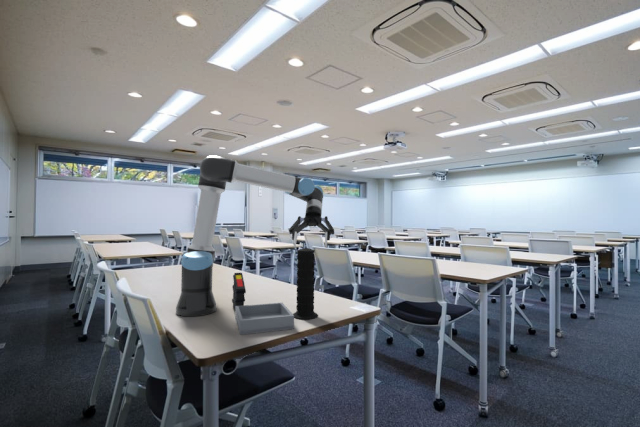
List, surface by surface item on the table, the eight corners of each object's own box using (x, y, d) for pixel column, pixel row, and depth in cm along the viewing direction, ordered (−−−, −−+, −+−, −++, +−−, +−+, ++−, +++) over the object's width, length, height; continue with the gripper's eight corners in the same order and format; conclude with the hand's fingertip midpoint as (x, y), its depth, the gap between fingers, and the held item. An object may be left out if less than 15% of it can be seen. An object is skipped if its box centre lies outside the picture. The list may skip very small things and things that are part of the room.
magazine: (240, 300, 139) (242, 272, 133) (243, 322, 128) (246, 291, 122) (231, 301, 137) (233, 272, 132) (234, 323, 126) (236, 292, 120)
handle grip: (316, 320, 118) (319, 312, 128) (317, 249, 119) (320, 246, 129) (290, 319, 119) (294, 311, 129) (291, 248, 120) (295, 246, 130)
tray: (239, 334, 103) (240, 320, 103) (235, 318, 120) (235, 306, 120) (293, 328, 109) (294, 315, 109) (282, 313, 126) (282, 302, 126)
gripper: (340, 216, 153) (339, 250, 138) (289, 216, 156) (282, 250, 140) (339, 205, 148) (339, 239, 133) (286, 205, 150) (280, 239, 135)
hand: (310, 245), depth 137 cm, fingers open, 13 cm apart
